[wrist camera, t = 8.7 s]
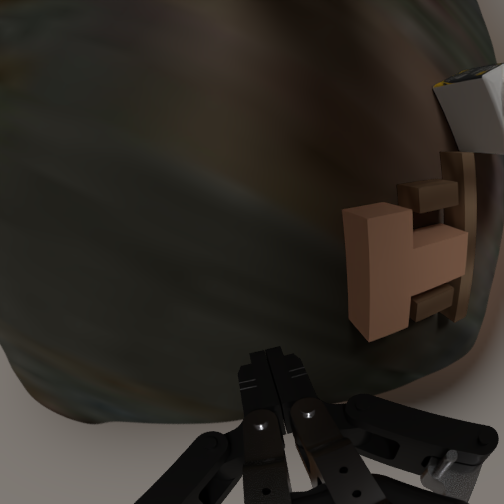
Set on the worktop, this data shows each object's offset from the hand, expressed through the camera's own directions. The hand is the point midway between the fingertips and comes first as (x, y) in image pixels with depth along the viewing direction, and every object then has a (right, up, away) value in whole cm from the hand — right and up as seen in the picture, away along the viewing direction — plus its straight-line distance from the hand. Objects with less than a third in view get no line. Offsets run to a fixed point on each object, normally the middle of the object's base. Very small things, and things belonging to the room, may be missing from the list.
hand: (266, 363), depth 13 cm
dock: (+16, +6, +10) cm, 20 cm away
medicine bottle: (+21, +20, +7) cm, 30 cm away
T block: (+13, +5, +10) cm, 17 cm away
